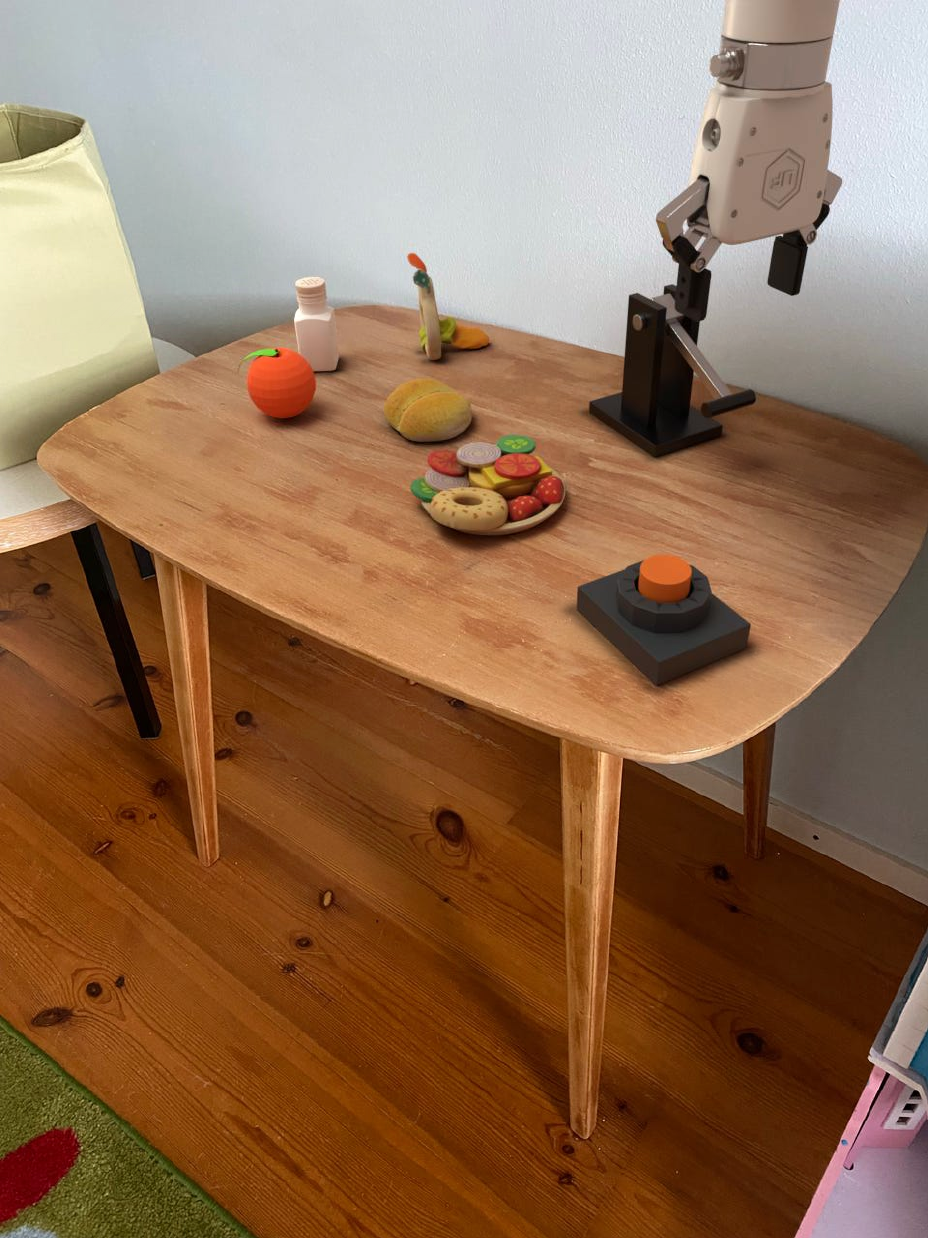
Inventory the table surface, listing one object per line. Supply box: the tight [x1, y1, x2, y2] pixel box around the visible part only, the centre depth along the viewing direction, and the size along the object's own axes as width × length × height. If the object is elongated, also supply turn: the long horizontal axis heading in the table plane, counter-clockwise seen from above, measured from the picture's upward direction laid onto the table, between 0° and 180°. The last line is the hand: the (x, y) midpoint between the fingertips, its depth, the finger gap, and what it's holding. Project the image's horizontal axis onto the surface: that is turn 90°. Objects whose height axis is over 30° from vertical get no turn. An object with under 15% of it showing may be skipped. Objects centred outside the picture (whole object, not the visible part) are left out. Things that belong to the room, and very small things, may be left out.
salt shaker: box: [293, 276, 340, 372], centre depth 108 cm, size 4×4×10 cm
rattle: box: [406, 252, 490, 361], centre depth 109 cm, size 8×8×12 cm
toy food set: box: [409, 434, 566, 536], centre depth 86 cm, size 13×13×3 cm
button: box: [638, 554, 692, 603], centre depth 70 cm, size 4×4×2 cm
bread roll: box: [383, 377, 473, 443], centre depth 98 cm, size 8×9×4 cm
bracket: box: [588, 283, 724, 458], centre depth 94 cm, size 11×8×13 cm
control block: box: [576, 559, 752, 686], centre depth 71 cm, size 10×8×4 cm
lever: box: [650, 293, 757, 419], centre depth 89 cm, size 13×5×2 cm, turn 30°
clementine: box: [237, 347, 317, 419], centre depth 100 cm, size 8×7×7 cm
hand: (737, 302), depth 80 cm, fingers open, 9 cm apart
